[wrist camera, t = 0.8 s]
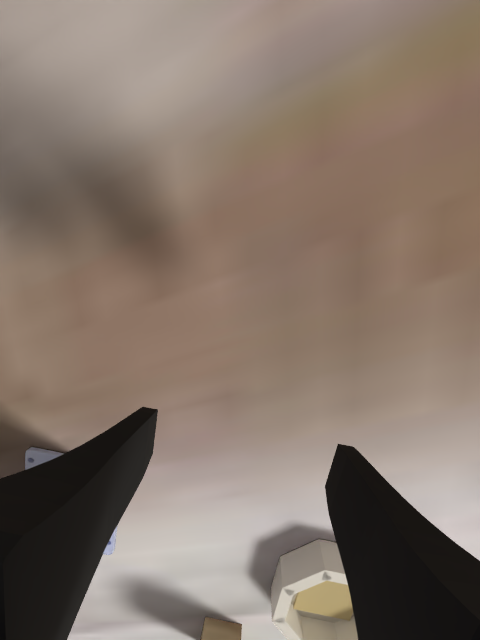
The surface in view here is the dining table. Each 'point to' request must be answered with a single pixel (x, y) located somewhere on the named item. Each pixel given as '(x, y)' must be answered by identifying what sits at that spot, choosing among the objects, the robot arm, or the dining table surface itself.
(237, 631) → the brown rectangular block
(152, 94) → the dining table surface
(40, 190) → the dining table surface
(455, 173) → the dining table surface
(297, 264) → the dining table surface
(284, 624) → the jar dish
